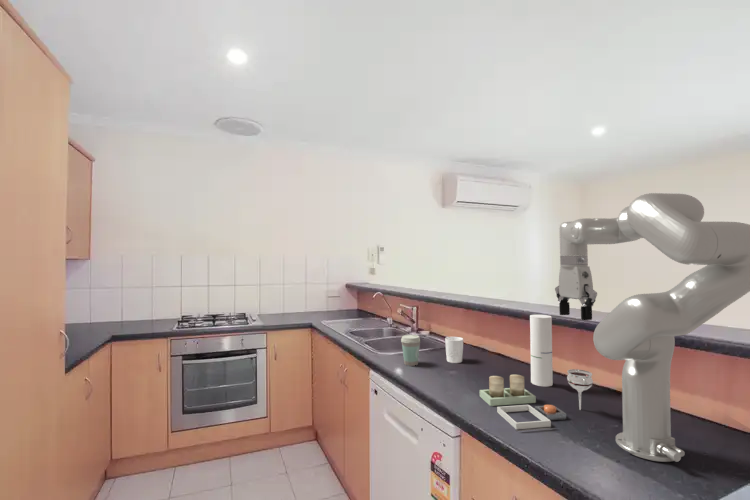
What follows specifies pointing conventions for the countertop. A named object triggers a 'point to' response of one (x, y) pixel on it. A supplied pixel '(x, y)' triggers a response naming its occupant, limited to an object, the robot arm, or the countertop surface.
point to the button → (549, 408)
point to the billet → (496, 386)
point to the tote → (524, 425)
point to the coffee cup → (410, 349)
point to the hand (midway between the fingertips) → (575, 317)
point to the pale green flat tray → (507, 398)
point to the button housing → (551, 416)
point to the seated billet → (517, 385)
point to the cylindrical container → (541, 350)
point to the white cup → (454, 349)
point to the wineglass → (579, 381)
